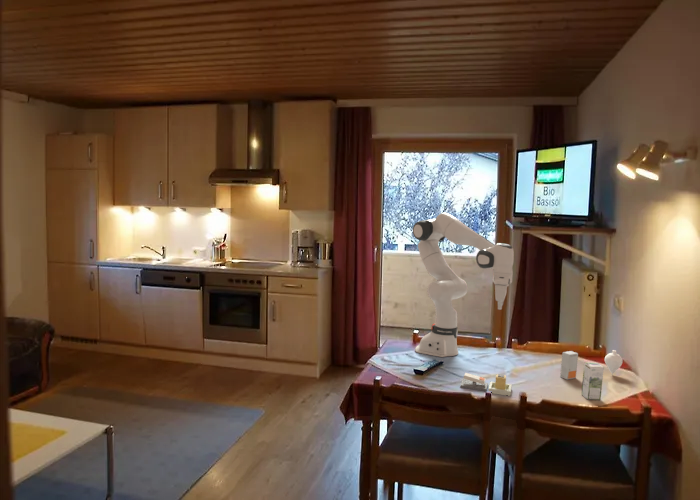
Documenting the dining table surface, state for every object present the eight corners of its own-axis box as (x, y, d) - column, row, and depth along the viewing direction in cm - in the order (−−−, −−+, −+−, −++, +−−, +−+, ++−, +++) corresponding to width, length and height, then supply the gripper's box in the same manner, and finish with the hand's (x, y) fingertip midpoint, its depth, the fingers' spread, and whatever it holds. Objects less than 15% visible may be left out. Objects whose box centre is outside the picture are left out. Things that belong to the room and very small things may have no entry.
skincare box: (567, 380, 251) (569, 354, 250) (559, 377, 255) (561, 352, 254) (576, 378, 254) (578, 353, 253) (569, 375, 258) (571, 350, 257)
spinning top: (606, 371, 266) (609, 347, 264) (623, 375, 260) (625, 350, 259) (600, 374, 260) (602, 350, 259) (617, 379, 255) (619, 353, 254)
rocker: (463, 378, 238) (464, 374, 238) (464, 375, 242) (465, 372, 242) (484, 384, 236) (484, 380, 235) (485, 381, 240) (485, 378, 239)
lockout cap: (494, 390, 234) (495, 376, 233) (495, 387, 237) (496, 373, 237) (504, 392, 232) (505, 377, 232) (505, 389, 236) (506, 374, 235)
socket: (488, 392, 232) (488, 388, 232) (490, 385, 240) (490, 381, 240) (510, 396, 229) (510, 391, 229) (511, 388, 238) (511, 384, 237)
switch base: (460, 387, 237) (460, 382, 237) (462, 381, 245) (462, 376, 245) (486, 391, 234) (486, 386, 233) (487, 385, 241) (488, 380, 241)
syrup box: (594, 395, 233) (597, 362, 232) (601, 400, 228) (604, 366, 226) (581, 394, 233) (583, 361, 232) (587, 400, 227) (590, 366, 226)
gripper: (497, 274, 266) (495, 302, 268) (493, 280, 247) (491, 310, 248) (510, 275, 264) (508, 303, 266) (508, 282, 245) (506, 312, 246)
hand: (500, 307), depth 257 cm, fingers open, 8 cm apart
